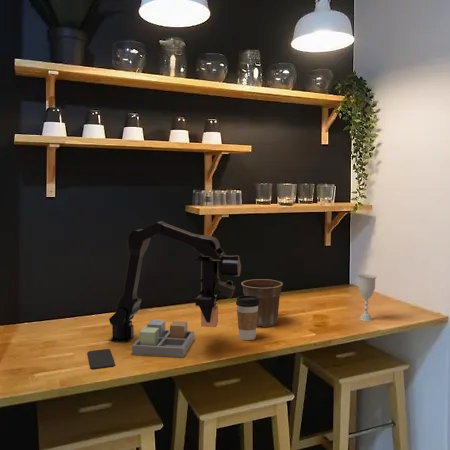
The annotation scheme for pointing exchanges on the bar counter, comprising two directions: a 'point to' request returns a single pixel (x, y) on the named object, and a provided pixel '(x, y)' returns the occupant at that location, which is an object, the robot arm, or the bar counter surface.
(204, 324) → the terracotta block
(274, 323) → the plant pot
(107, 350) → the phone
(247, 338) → the coffee cup
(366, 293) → the chalice
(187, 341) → the grid tray
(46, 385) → the bar counter surface
